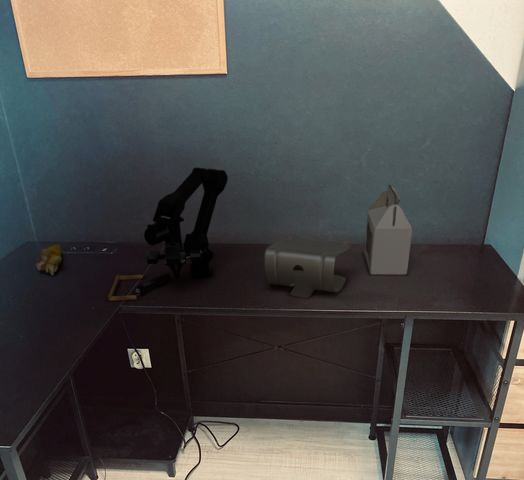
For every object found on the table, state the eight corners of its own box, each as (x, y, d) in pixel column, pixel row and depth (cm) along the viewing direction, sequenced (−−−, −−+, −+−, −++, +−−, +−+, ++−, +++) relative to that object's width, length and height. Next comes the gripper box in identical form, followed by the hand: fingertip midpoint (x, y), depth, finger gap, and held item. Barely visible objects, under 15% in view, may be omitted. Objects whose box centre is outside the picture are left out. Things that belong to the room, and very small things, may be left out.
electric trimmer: (173, 281, 194) (172, 273, 192) (140, 296, 183) (139, 287, 182) (166, 279, 196) (165, 271, 194) (133, 293, 185) (132, 285, 184)
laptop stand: (262, 293, 183) (261, 250, 175) (283, 268, 202) (283, 228, 194) (334, 303, 175) (337, 259, 167) (350, 276, 194) (352, 235, 186)
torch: (62, 263, 222) (53, 278, 199) (43, 255, 219) (32, 271, 196) (69, 244, 219) (60, 258, 197) (49, 237, 217) (38, 250, 194)
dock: (143, 277, 197) (142, 273, 196) (136, 299, 181) (135, 295, 180) (117, 278, 197) (116, 275, 196) (108, 300, 181) (107, 296, 180)
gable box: (406, 275, 194) (416, 198, 179) (370, 274, 195) (377, 198, 180) (397, 253, 213) (405, 182, 198) (364, 253, 214) (370, 182, 199)
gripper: (142, 246, 173) (148, 290, 181) (199, 243, 174) (203, 287, 182) (146, 235, 182) (152, 277, 191) (200, 232, 183) (204, 274, 191)
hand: (177, 279), depth 188 cm, fingers closed
